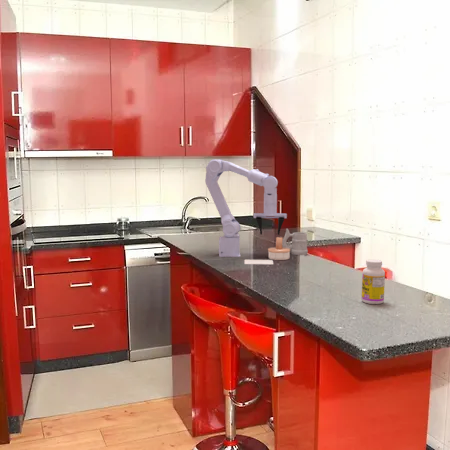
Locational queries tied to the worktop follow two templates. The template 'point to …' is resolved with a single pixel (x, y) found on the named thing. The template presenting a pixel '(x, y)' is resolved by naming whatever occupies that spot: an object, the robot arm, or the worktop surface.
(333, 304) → the worktop surface
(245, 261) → the mat
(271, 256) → the bowl
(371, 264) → the supplement bottle
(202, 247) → the worktop surface
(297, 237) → the mug
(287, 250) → the lid
